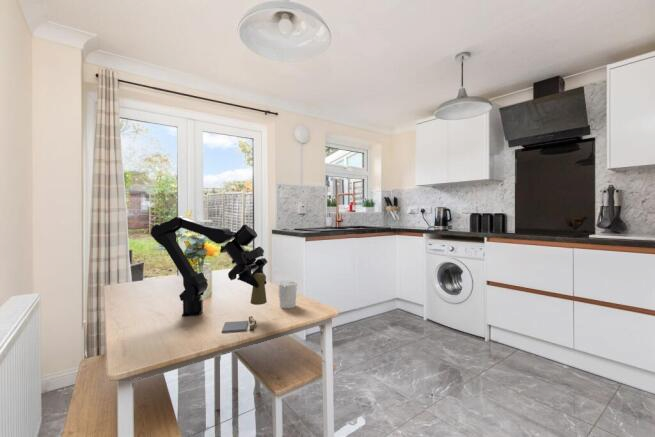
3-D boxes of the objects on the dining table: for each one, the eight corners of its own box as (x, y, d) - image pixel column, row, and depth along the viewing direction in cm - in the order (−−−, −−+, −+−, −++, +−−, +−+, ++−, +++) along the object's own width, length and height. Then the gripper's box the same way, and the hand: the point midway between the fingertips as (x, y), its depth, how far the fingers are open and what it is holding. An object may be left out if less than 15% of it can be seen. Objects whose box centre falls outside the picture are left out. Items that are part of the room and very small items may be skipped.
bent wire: (247, 331, 103) (247, 326, 103) (249, 320, 113) (249, 316, 113) (255, 330, 104) (255, 325, 104) (256, 320, 113) (256, 315, 113)
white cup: (293, 309, 125) (293, 285, 125) (275, 308, 127) (275, 284, 126) (299, 303, 133) (299, 281, 133) (282, 302, 134) (282, 280, 134)
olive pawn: (268, 300, 118) (268, 272, 117) (264, 305, 112) (265, 275, 111) (252, 299, 118) (253, 271, 117) (248, 304, 112) (248, 275, 111)
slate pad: (221, 332, 102) (221, 330, 102) (225, 323, 110) (225, 322, 110) (246, 330, 103) (246, 329, 103) (247, 322, 111) (247, 320, 111)
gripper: (235, 242, 106) (261, 277, 103) (263, 238, 124) (287, 267, 121) (216, 263, 109) (242, 297, 106) (247, 255, 127) (269, 284, 124)
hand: (262, 285), depth 114 cm, fingers closed on olive pawn, 5 cm apart
